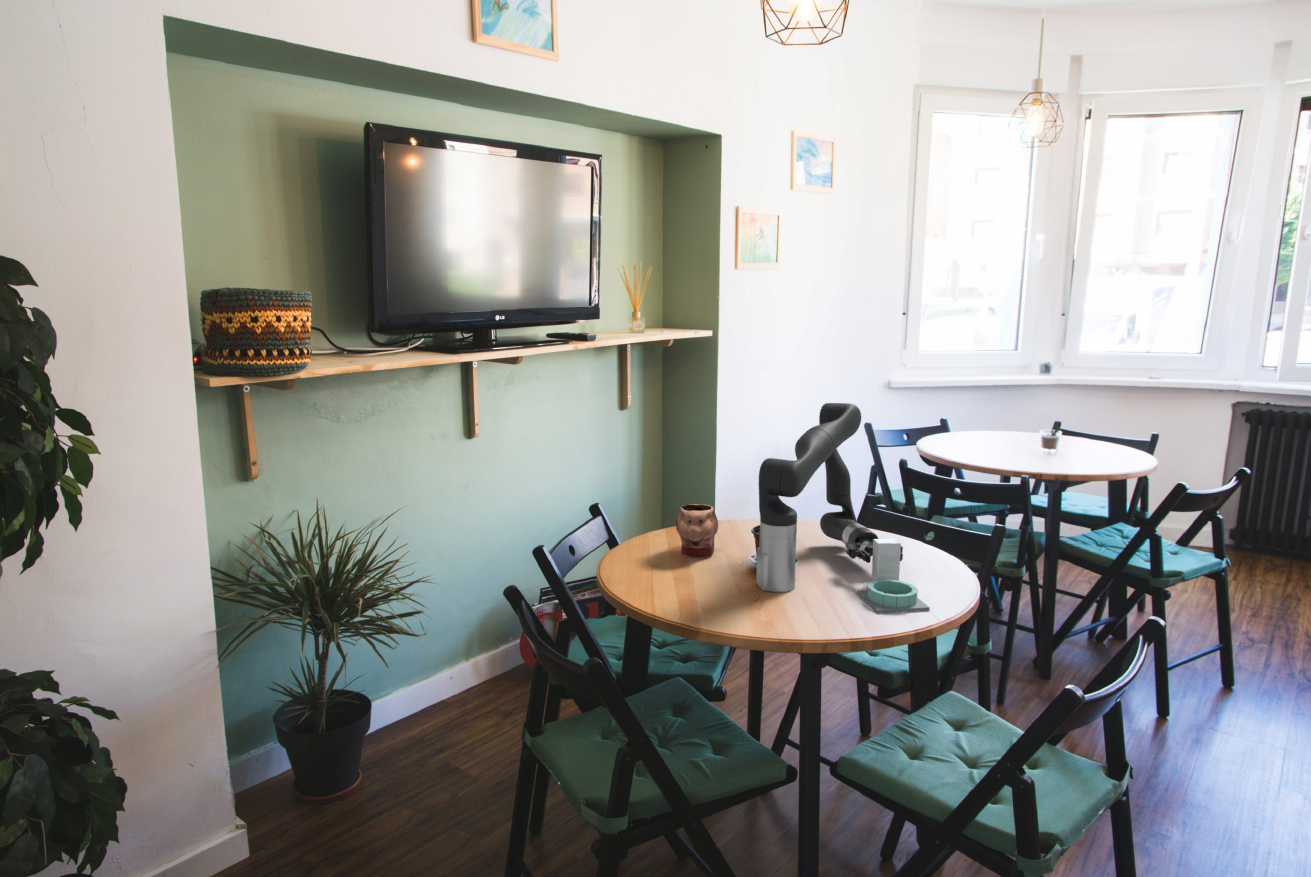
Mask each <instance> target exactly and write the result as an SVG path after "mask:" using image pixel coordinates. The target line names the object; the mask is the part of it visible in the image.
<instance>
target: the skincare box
mask: <svg viewBox="0 0 1311 877" xmlns="http://www.w3.org/2000/svg"><path fill="white" fill-rule="evenodd" d="M901 546H902V543H901V542H900V541H898V539H897V538H879V539H873V556H872V559H871V562H872V563H871V582H872V581H875V580H886V579H890V580H898V581H900V571H901V570H900V567H901V561H900V549H901Z"/></svg>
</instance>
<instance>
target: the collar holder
mask: <svg viewBox="0 0 1311 877" xmlns="http://www.w3.org/2000/svg"><path fill="white" fill-rule="evenodd" d="M918 590H919V589H918V588H917V587H916V586H915V585H914V584H911V583H908V582H905V581H903V580H899V581H898V580H890V579H886V580H875V581H872V580H871V581H869V583H868V585H867V589H859V590H858V589H857V590H856V591H855V592H856V595H857V596H859V598H861V600H863V601H864V602H865V603H866V604H867V605H868V606H869V607H870V608H871V609H872V610H873V611H875V613H877V614H889V613H890V614H891V613H892V614H893V613H907V612H908V613H909V612H926V611H927V612H928V611H930V609H931V608H930V606H929V605H927V603H925V602H924V601H922V600H921V599H920V598H919V597H918Z"/></svg>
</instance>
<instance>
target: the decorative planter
mask: <svg viewBox="0 0 1311 877" xmlns="http://www.w3.org/2000/svg"><path fill="white" fill-rule="evenodd" d="M675 527H676V528H675V529H676V531H677V534H678V535H679V537H680V542H681V548H680V549H681V550H680V551H681V552H680V553H681V555H682V556H685V557H686V558H693V559H694V558H695V559H705V558H706V559H707V558H710V557H712V556H713V555H714V552H715V537H716V534H717V533H718V530H719V520H718V517H717V515H716V513H715V508H714V507H713V506H711V505H708V504H703V503H701V504H700V503H698V504H696V503H689V504H684V505H680V508H679V514H678V516H677V519H676V526H675Z"/></svg>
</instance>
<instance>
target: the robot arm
mask: <svg viewBox="0 0 1311 877" xmlns="http://www.w3.org/2000/svg"><path fill="white" fill-rule="evenodd" d="M818 420H819V424H818V425H815V426H812V427H811V428H809V429H808V430H806V431H805V432H804V433H803V434H802V435H801V436H800V437H799V438H798V439H797V441H796V442H795V446H794V453H795V457H796V460H792V459H791V460H790V459H783V458H774V457H771V458H767V457H766V458H765V459H764V460H763V461H762V463H761V465H760V467H759V471H758V510H759V515H760V516H759V517H760V519H759V524H760V525H759V526H760V527H759V547H757V549H756V576H755V578H756V581H755V582H756V584H757V586H758V587H759V589H760V590H761V591H768V592H773V593H774V592H775V593H785V592H790V591H792V590H794V589H795V583H796V582H795V581H796V562H797V561H796V560H797V559H796V558H797V555H796V554H797V532H798V530H797V529H798V527H797V526H798V513H797V511H796V510H795V509H794V508H793V507H791V506H789V505H788V504H786V503H785V502H783V500H781V498H780V497H782V498H783V497H785V498H795V497H798V496H799V495H800V494H801V493H802V492H803V491H804V489H805V488H806V486H807V484H808V483H809V481H810V480H811V478H812V477H813V475H815V473H816V472H817V471H818V470H819V468H820V467H821V466H822V465H823V463H824V467H825V480H826V481H825V482H826V485H825V490H826V493H825V494H826V501H827V503H828V504H830V505H833V506H837V507H841V509H842V510H841V511H830V512H826V513H824V514H823V515H822V516H821V518H820V520H819V526H820V529H821V531H822V533H823V534H824V535H825V536H826V537H828V538H830V539H833V540H836V541H841V542H842V543H844V545H845V548H844V553H845V554H846V555H848V556H849V558H850V559H853V560H854V559H856V558H858V560H862V561H864V562H866V563H867V564H869V563H871V560H872V559H871V557H873V539H880V538H879V537H878V535H877V534H875V533H874V532H873V531H872V530H870V529H869V528H867V527H866V526H864V525H862V524H860V523H859V522H858V521H857V517H856V514H855V511H854V508H853V502H852V497H851V491H852V490H851V489H852V488H851V487H852V486H851V482H852V481H851V475H850V474H851V473H850V471H849V469H848V466H847V465H846V464H845V462H844V460H843V458H842V457H841V455H840V453H839V451H838V448H839V447H840V446H841V445H842V444H843V443H844V442H846V441H847V440H848V439H850V438H851V437H852V436H854V435H855V434H856V433H857V431H858V430H859V428H860V425H861V422H862V413H861V410H860V408H859V407H858V406H857V405H856V404H853V403H848V402H847V403H843V402H826V403H824V404H823V405H822V406H821V408H820V410H819V418H818ZM903 548H904V547H903V546H902V545H901V549H900V562H902V560H903V558H904V554H903V550H904V549H903Z"/></svg>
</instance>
